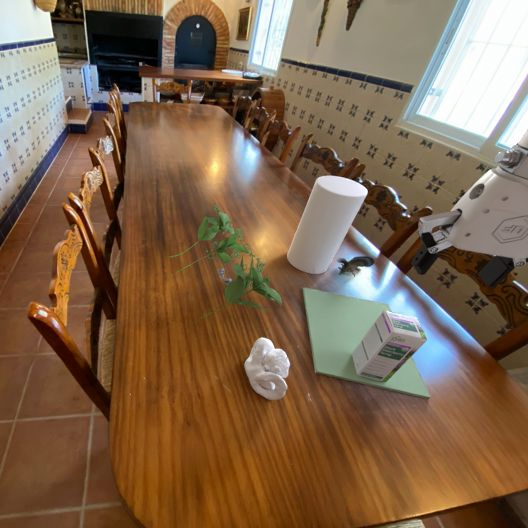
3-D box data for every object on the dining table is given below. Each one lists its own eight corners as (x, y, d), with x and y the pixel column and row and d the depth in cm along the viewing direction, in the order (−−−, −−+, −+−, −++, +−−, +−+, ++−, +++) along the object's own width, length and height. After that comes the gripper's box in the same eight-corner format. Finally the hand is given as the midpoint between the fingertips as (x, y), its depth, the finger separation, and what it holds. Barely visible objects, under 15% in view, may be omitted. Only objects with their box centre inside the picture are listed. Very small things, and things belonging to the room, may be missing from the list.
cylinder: (291, 244, 98) (320, 171, 82) (331, 257, 94) (369, 183, 78) (282, 263, 90) (312, 187, 74) (325, 279, 86) (366, 201, 70)
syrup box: (356, 376, 61) (394, 332, 52) (350, 352, 66) (384, 308, 56) (385, 383, 60) (429, 340, 51) (378, 358, 65) (416, 315, 56)
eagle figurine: (357, 284, 83) (378, 270, 86) (352, 261, 81) (373, 248, 84) (333, 279, 90) (353, 267, 93) (328, 258, 89) (349, 246, 91)
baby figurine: (252, 342, 67) (284, 328, 62) (275, 397, 62) (311, 387, 57) (229, 346, 61) (262, 331, 56) (252, 407, 56) (291, 397, 51)
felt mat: (386, 305, 79) (388, 303, 78) (428, 399, 59) (430, 397, 59) (302, 289, 82) (303, 287, 81) (315, 373, 62) (316, 371, 61)
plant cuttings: (216, 367, 69) (304, 321, 64) (177, 337, 58) (279, 279, 53) (183, 269, 95) (243, 231, 90) (152, 236, 84) (218, 191, 79)
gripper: (482, 168, 33) (399, 280, 44) (663, 192, 31) (530, 303, 42) (449, 147, 39) (383, 251, 50) (600, 166, 37) (497, 270, 48)
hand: (450, 275), depth 46 cm, fingers open, 9 cm apart
